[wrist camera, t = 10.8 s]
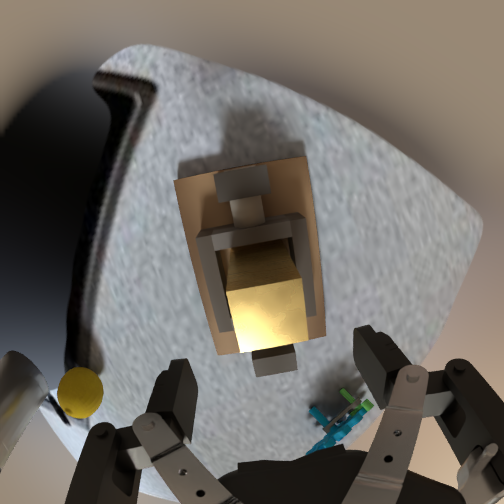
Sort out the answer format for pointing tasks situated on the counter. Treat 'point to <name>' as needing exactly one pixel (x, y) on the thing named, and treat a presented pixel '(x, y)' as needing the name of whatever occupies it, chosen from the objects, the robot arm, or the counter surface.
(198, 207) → the shaft rig
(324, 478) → the robot arm
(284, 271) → the block
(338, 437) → the blue-green animal figure
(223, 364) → the counter surface
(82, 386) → the lemon
